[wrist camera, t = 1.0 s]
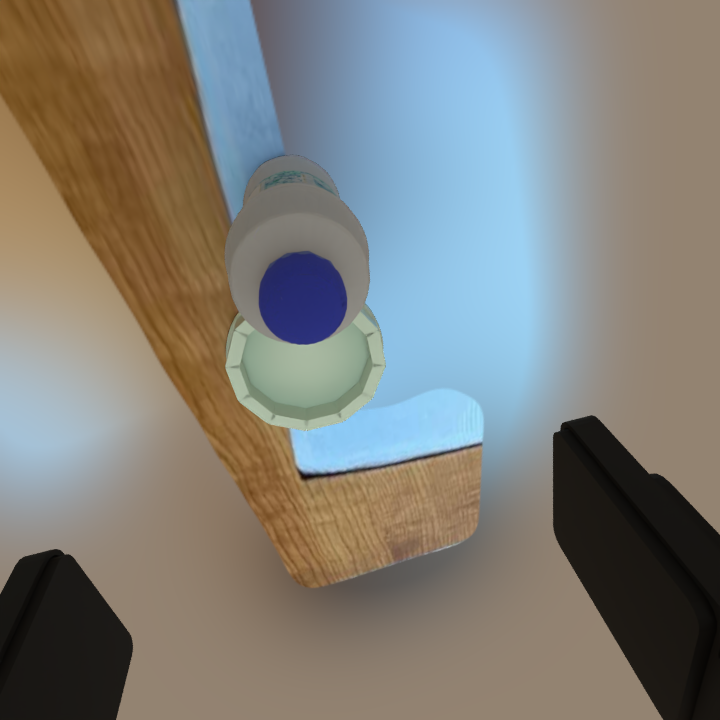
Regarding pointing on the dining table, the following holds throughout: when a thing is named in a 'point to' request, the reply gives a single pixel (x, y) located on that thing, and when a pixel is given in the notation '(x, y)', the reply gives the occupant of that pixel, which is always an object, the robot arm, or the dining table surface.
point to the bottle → (296, 254)
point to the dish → (306, 373)
